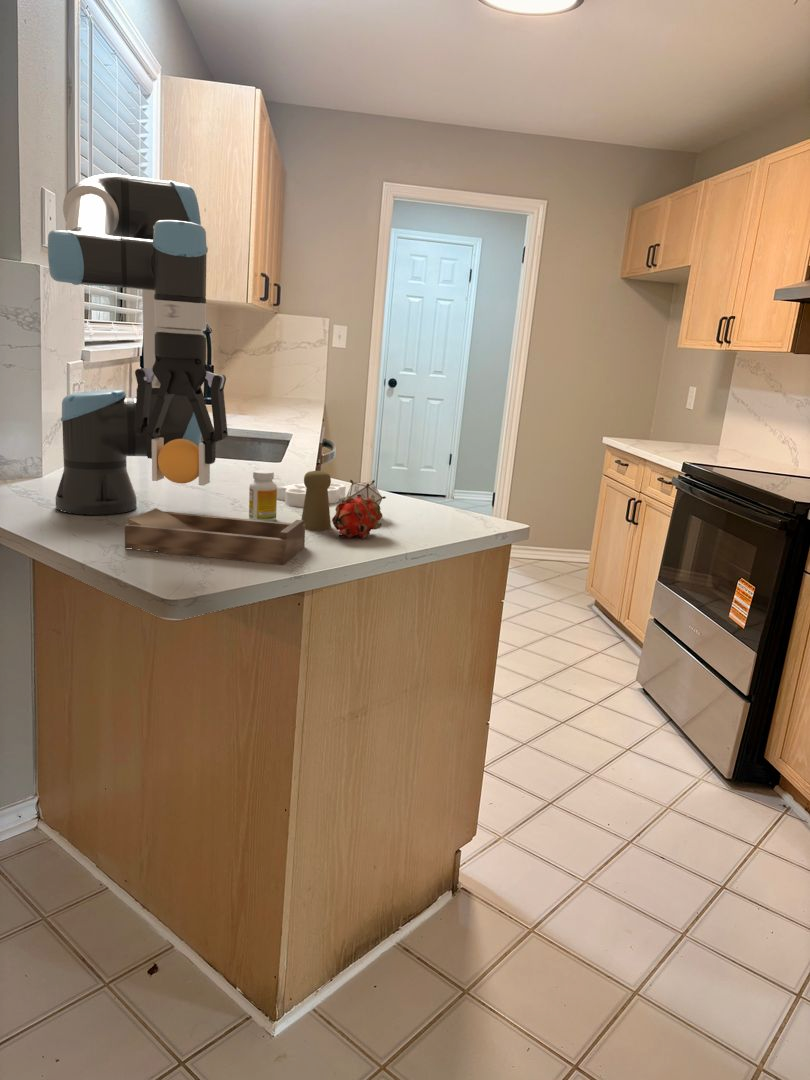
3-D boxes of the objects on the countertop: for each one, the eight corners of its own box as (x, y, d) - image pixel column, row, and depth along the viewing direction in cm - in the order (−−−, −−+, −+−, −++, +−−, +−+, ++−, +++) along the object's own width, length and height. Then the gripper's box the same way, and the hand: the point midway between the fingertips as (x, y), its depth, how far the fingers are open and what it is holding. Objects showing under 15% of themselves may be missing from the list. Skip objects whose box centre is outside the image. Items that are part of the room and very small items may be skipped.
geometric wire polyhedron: (367, 537, 161) (377, 505, 154) (331, 519, 162) (340, 487, 154) (384, 511, 167) (395, 479, 160) (350, 493, 168) (359, 461, 160)
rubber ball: (150, 485, 119) (149, 439, 117) (169, 477, 126) (169, 434, 124) (193, 489, 118) (193, 443, 117) (210, 481, 125) (210, 438, 123)
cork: (336, 526, 153) (338, 471, 150) (323, 532, 147) (325, 475, 145) (308, 522, 155) (310, 467, 152) (294, 527, 149) (296, 471, 147)
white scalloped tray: (310, 492, 189) (359, 501, 182) (260, 501, 174) (310, 511, 167) (311, 478, 188) (359, 487, 181) (260, 486, 174) (310, 496, 166)
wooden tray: (124, 548, 127) (123, 519, 126) (157, 532, 139) (157, 505, 138) (284, 564, 124) (285, 534, 122) (304, 546, 136) (305, 518, 134)
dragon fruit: (381, 540, 150) (339, 559, 142) (354, 509, 153) (310, 526, 144) (400, 511, 145) (357, 529, 136) (371, 480, 147) (327, 495, 139)
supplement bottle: (281, 519, 156) (282, 471, 153) (266, 523, 151) (267, 474, 149) (259, 515, 158) (260, 468, 156) (243, 519, 153) (244, 471, 151)
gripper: (105, 326, 114) (109, 479, 120) (235, 336, 112) (233, 491, 117) (129, 327, 121) (132, 472, 127) (252, 336, 119) (249, 483, 125)
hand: (181, 481), depth 122 cm, fingers closed on rubber ball, 7 cm apart
